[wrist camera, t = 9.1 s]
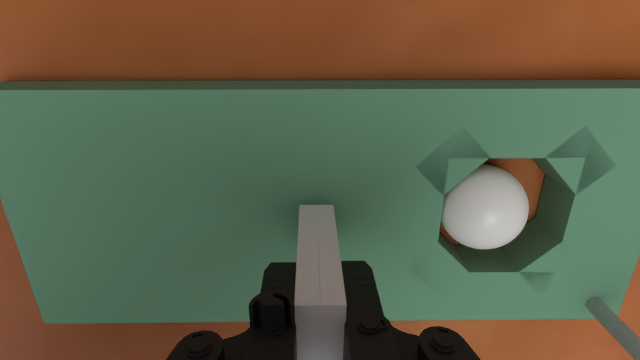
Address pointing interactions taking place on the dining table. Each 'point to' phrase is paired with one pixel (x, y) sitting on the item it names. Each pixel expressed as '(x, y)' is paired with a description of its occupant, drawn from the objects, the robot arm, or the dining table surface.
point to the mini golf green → (316, 193)
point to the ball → (485, 209)
